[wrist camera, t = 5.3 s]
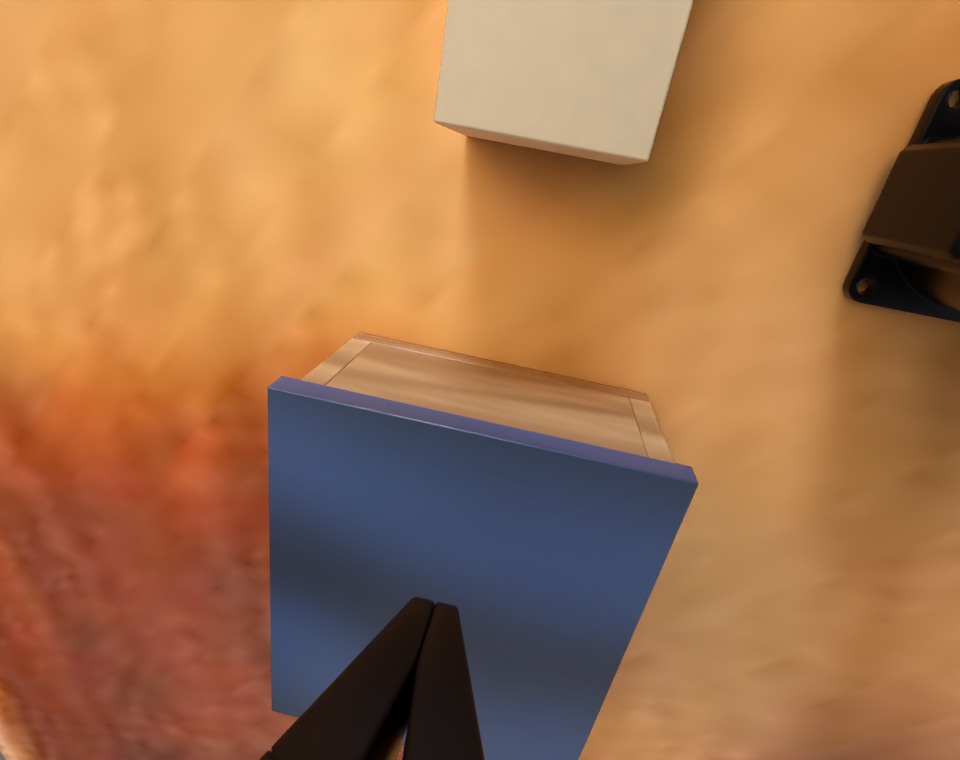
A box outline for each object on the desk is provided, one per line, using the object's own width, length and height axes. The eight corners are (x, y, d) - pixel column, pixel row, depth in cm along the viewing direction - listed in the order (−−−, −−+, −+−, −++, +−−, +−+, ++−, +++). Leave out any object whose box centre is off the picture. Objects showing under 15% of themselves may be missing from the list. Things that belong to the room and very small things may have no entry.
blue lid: (281, 375, 14) (266, 386, 13) (691, 466, 14) (699, 483, 13) (281, 691, 20) (271, 711, 19) (565, 765, 19) (566, 789, 19)
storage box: (359, 331, 20) (288, 388, 15) (646, 393, 19) (680, 475, 14) (339, 582, 26) (282, 690, 20) (563, 638, 25) (565, 764, 20)
